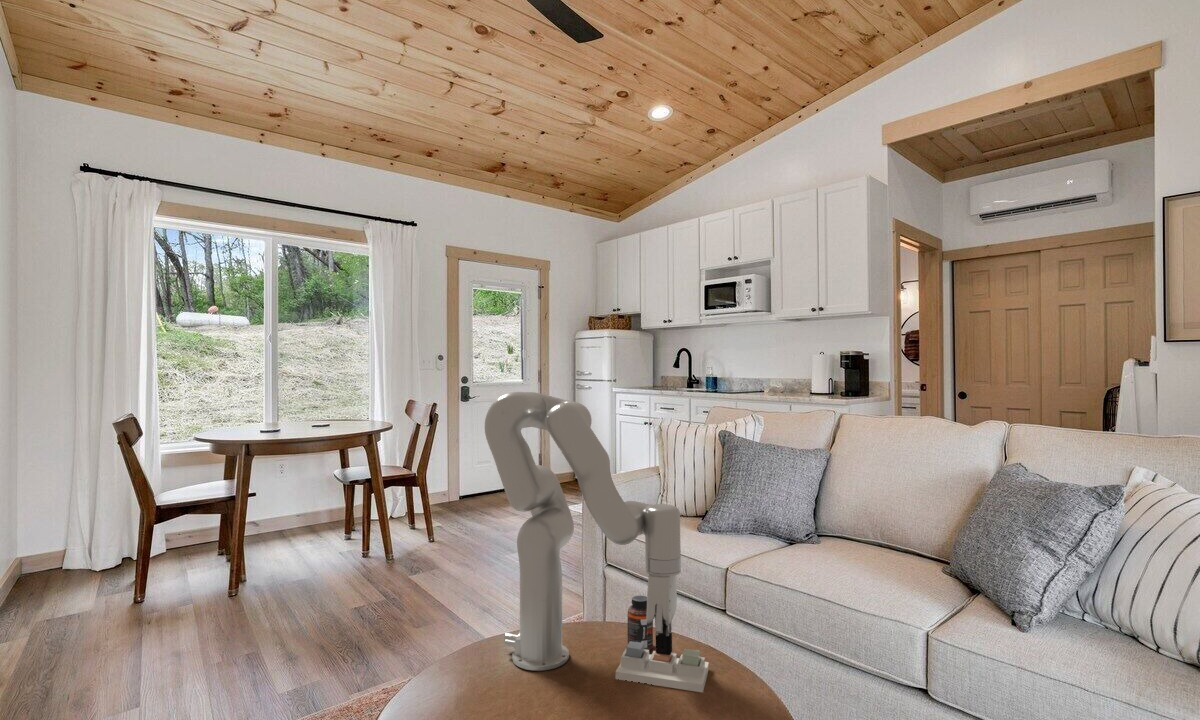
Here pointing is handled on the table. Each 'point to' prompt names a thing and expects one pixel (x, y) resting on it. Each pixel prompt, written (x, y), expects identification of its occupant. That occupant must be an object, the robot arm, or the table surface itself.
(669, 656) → the terracotta button
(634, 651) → the slate button
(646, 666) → the button console
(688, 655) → the sage button
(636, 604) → the supplement bottle
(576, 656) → the table surface
